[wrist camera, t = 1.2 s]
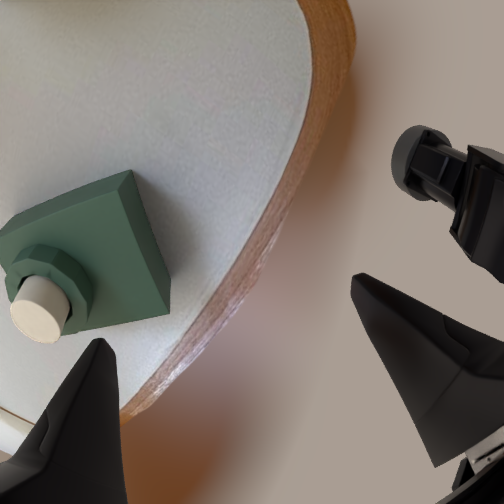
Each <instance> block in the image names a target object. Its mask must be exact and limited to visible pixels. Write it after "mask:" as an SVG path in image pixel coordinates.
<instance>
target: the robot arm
mask: <svg viewBox="0 0 504 504" xmlns="http://www.w3.org/2000/svg"><path fill="white" fill-rule="evenodd" d="M467 150H468V154H465V153H463V152H460V151H458V150H456V149H454V148H452V147H451V146H449V145H448V144H447V143H446V142H445V141H443V140H442V139H441V138H440V137H438V136H437V135H436V134H434V133H433V132H432V131H430V130H428V129H424V130H423V132H422V135H421V138H420V140H419V143H418V145H417V148H416V151H415V153H414V156H413V158H412V160H411V163H410V165H409V168H408V170H407V172H406V175H405V177H404V179H403V185H405V186H406V187H408V188H410V189H412V190H414V191H416V192H418V193H420V194H422V195H424V196H426V197H427V198H429V199H431V200H433V201H435V202H438V201H439V202H441V203H442V204H444V205H445V206H447V207H448V208H450V209H451V210H453V211H454V212H455V216H454V219H453V223H452V226H451V227H450V231H449V232H450V234H451V235H452V236H453V237H454V239H455V240H456V242H457V243H458V244H459V246H460V247H461V248H462V250H463V251H464V253H465V254H466V255H467V257H468V258H469V259H470V260H471V262H473V263H475V264H477V265H479V266H481V267H483V268H485V269H486V270H487V271H489V272H490V273H491V274H492V275H493V276H494V277H495V278H496V279H497V280H498V281H499V282H500V283H503V284H504V154H502V153H499V152H497V151H495V150H492V149H488V148H483V147H479V146H473V145H468V148H467ZM407 181H408V183H407ZM351 298H352V301H353V303H354V305H355V307H356V309H357V312H358V314H359V316H360V319H361V321H362V323H363V326H364V328H365V330H366V332H367V335H368V336H369V338H370V340H371V342H372V344H373V345H374V347H375V349H376V351H377V353H378V354H379V356H380V358H381V360H382V362H383V363H384V365H385V367H386V369H387V371H388V373H389V375H390V377H391V379H392V380H393V382H394V384H395V386H396V388H397V390H398V392H399V394H400V396H401V398H402V400H403V401H404V404H405V406H406V407H407V410H408V412H409V413H410V416H411V418H412V420H413V422H414V424H415V426H416V428H417V430H418V433H419V434H420V437H421V439H422V441H423V443H424V445H425V448H426V450H427V452H428V454H429V456H430V459H431V461H432V463H433V465H434V467H435V468H436V467H438V466H440V465H442V464H444V463H446V462H447V461H449V460H451V459H453V458H455V457H456V456H458V455H460V454H462V453H463V452H465V454H466V456H467V457H465V458H464V459H463V460H461V462H460V466H459V468H458V472H457V474H456V477H455V480H454V483H453V486H452V490H453V492H452V493H451V494H449V495H448V496H446V497H445V498H443V499H442V500H440V501H439V502H437V503H436V504H504V342H502V341H500V340H497V339H495V338H493V337H490V336H488V335H486V334H483V333H481V332H479V331H476V330H474V329H472V328H470V327H468V326H465V325H463V324H462V323H460V322H458V321H456V320H454V319H452V318H450V317H448V316H446V315H443V314H442V313H441V312H439V311H437V310H435V309H433V308H431V307H429V306H428V305H426V304H424V303H422V302H420V301H418V300H416V299H414V298H412V297H410V296H409V295H407V294H405V293H403V292H401V291H399V290H397V289H395V288H393V287H391V286H389V285H387V284H385V283H383V282H381V281H379V280H377V279H375V278H373V277H371V276H369V275H368V274H366V273H359V274H356V275H353V277H352V282H351ZM0 504H128V502H127V494H126V488H125V481H124V473H123V464H122V453H121V439H120V419H119V388H118V377H117V366H116V355H115V352H114V351H113V349H112V348H111V347H110V345H109V344H108V343H107V342H106V340H105V339H104V338H97V339H93V340H92V341H91V343H90V344H89V345H88V347H87V348H86V349H85V351H84V352H83V354H82V355H81V356H80V358H79V359H78V361H77V362H76V364H75V365H74V366H73V368H72V369H71V371H70V372H69V374H68V375H67V377H66V378H65V379H64V381H63V382H62V384H61V385H60V387H59V388H58V390H57V391H56V393H55V395H54V396H53V398H52V399H51V401H50V402H49V404H48V405H47V407H46V409H45V410H44V412H43V413H42V415H41V416H40V418H39V420H38V421H37V423H36V424H35V426H34V427H33V429H32V430H31V432H30V433H29V434H28V436H27V437H26V439H25V440H24V441H23V443H22V444H21V446H20V447H19V449H18V450H17V452H16V453H15V454H14V455H13V456H12V457H11V458H10V459H9V460H7V461H5V462H2V463H0Z"/></svg>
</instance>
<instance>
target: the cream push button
mask: <svg viewBox="0 0 504 504" xmlns="http://www.w3.org/2000/svg"><path fill="white" fill-rule="evenodd" d="M69 309H70V303H69V299H68V296H67V295H66V293H65V292H64V290H63V289H62V288H61V287H60V286H58V285H57V284H56V283H54V282H53V281H52V280H51V279H49V278H46V277H43V276H39V275H33V276H30V277H28V278H27V279H26V280H25V281H24V283H23V285H22V287H21V288H20V290H19V292H18V294H17V295H16V297H15V299H14V301H13V303H12V305H11V308H10V313H11V317H12V320H13V322H14V323H15V325H16V326H17V327H18V329H19V330H20V331H21V332H22V333H24V334H25V335H26V336H27V337H29V338H31V339H33V340H35V341H37V342H40V343H45V344H50V343H54V342H56V341H57V340H58V339H59V338H60V336H61V333H62V330H63V327H64V324H65V321H66V318H67V315H68V312H69Z"/></svg>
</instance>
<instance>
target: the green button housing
mask: <svg viewBox="0 0 504 504" xmlns="http://www.w3.org/2000/svg"><path fill="white" fill-rule="evenodd" d="M0 264H1V266H2V267H3V269H4V271H5V272H6V274H7V275H6V277H5V285H6V290H7V294H8V298H9V300H10V302H11V303H13V301H14V299H15V297H16V295H17V294H18V292H19V290H20V288H21V287H22V285H23V283H24V281H25V280H26V279H27V278H28V277H30V276H33V275H39V276H43V277H46V278H49V279H51V280H52V281H53V282H54V283H56V284H57V285H58V286H60V287H61V288H62V289H63V290H64V292H65V293H66V295H67V296H68V299H69V303H70V309H69V312H68V315H67V318H66V321H65V324H64V327H63V330H62V333H61V336H64V335H70V334H76V333H78V332H79V331H85V330H91V329H96V328H102V327H107V326H112V325H117V324H123V323H128V322H133V321H138V320H142V319H147V318H152V317H157V316H161V315H166V314H170V287H171V278H170V276H169V274H168V271H167V269H166V266H165V264H164V261H163V259H162V256H161V254H160V251H159V248H158V246H157V243H156V241H155V238H154V235H153V232H152V230H151V227H150V224H149V221H148V219H147V216H146V213H145V210H144V207H143V204H142V201H141V198H140V195H139V192H138V189H137V186H136V183H135V180H134V177H133V174H132V170H127V171H124V172H121V173H118V174H115V175H112V176H110V177H107V178H104V179H101V180H98V181H96V182H93V183H90V184H87V185H85V186H82V187H80V188H77V189H75V190H72V191H70V192H67V193H65V194H62V195H60V196H57V197H55V198H53V199H50V200H48V201H46V202H44V203H41V204H39V205H37V206H35V207H33V208H30V209H28V210H26V211H24V212H22V213H20V214H18V215H16V216H14V217H12V218H11V219H10V220H9V221H8V222H7V223H6V225H5V226H4V227H3V228H2V229H1V230H0Z"/></svg>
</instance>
